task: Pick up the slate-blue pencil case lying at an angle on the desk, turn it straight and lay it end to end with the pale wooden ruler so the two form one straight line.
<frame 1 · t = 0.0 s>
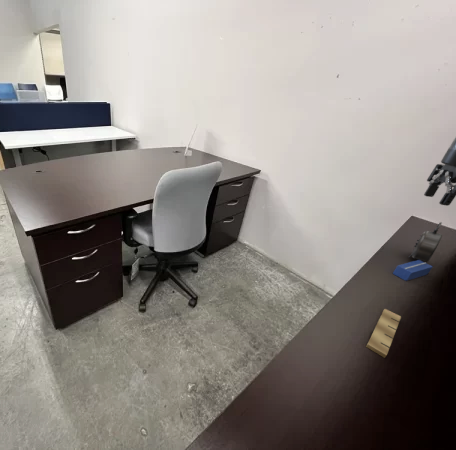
hand: (435, 200, 78), 25 cm above the table, tool pointing down, fingers open, 8 cm apart
pencil case: (409, 274, 83), on the table
alarm clock: (415, 260, 91), on the table
ruler: (383, 332, 61), on the table
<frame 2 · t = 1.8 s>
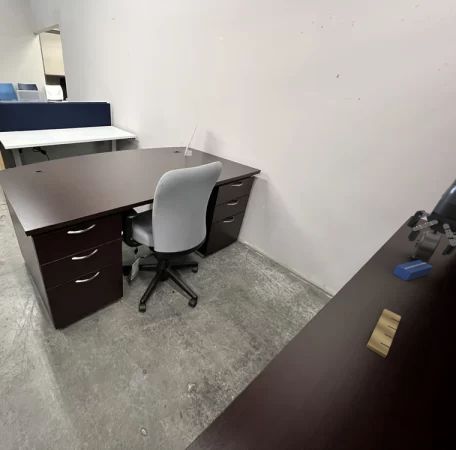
hand: (427, 247, 78), 11 cm above the table, tool pointing down, fingers open, 8 cm apart
nothing on the table moved.
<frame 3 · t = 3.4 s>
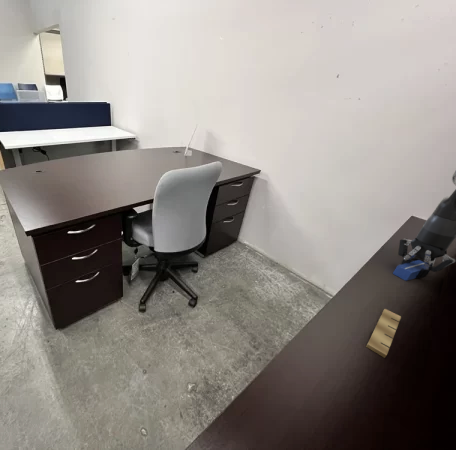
hand: (410, 272, 83), 1 cm above the table, tool pointing down, fingers closed on pencil case, 4 cm apart
pencil case: (409, 274, 83), on the table, touching gripper
everything else where it was.
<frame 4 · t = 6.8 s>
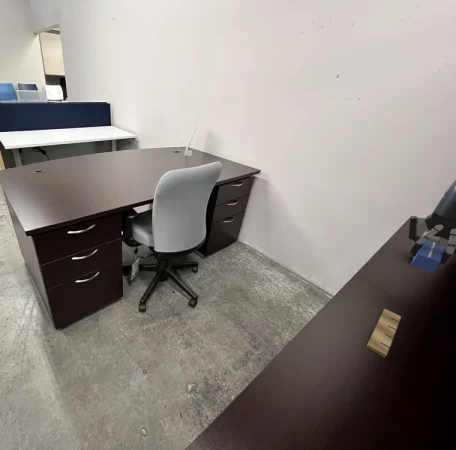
hand: (425, 259, 64), 15 cm above the table, tool pointing down, fingers closed on pencil case, 4 cm apart
pencil case: (424, 260, 65), point 15 cm above the table, touching gripper
everything else where it was.
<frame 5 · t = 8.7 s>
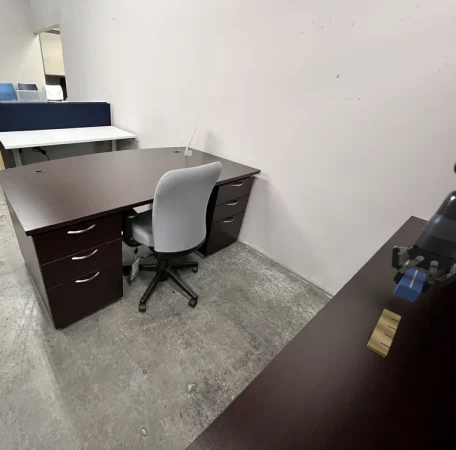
hand: (407, 287, 66), 7 cm above the table, tool pointing down, fingers closed on pencil case, 4 cm apart
pencil case: (406, 288, 66), point 7 cm above the table, touching gripper
everything else where it was.
when the fingers open (2 cm above the table, at t = 10.3 s): pencil case stays where it is, resting on ruler.
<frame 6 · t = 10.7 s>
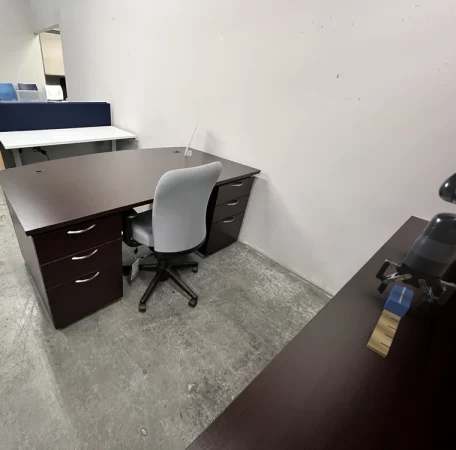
hand: (398, 300, 68), 2 cm above the table, tool pointing down, fingers open, 7 cm apart
pencil case: (395, 304, 69), point 1 cm above the table, tilted 5°, touching ruler
everything else where it was.
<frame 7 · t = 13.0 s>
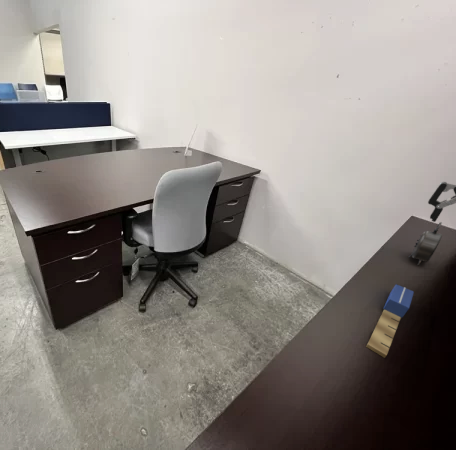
nothing on the table moved.
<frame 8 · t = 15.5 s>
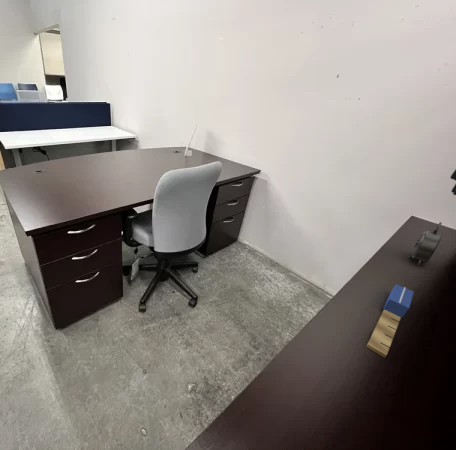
nothing on the table moved.
at the end: pencil case 0.1 cm from the target spot on the table beside the ruler, point 0.5 cm above the table; pencil case tilted 5°; the gripper is holding nothing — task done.
